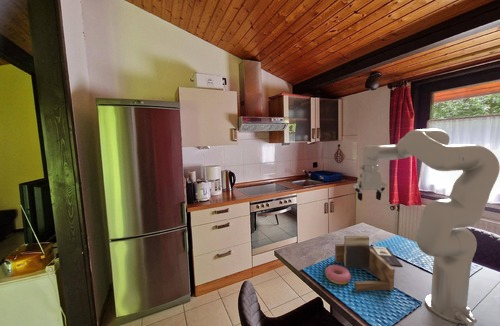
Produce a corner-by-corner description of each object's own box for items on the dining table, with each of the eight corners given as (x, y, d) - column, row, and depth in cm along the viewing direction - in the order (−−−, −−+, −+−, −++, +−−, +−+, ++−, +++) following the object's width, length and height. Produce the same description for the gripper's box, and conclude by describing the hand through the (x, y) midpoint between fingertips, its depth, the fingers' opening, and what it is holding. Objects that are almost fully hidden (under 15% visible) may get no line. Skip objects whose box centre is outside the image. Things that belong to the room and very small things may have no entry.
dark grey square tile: (369, 267, 104) (370, 246, 103) (346, 268, 104) (347, 246, 103) (368, 266, 105) (368, 245, 103) (345, 267, 105) (346, 245, 103)
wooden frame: (393, 289, 89) (395, 255, 87) (356, 290, 89) (357, 256, 87) (365, 259, 110) (366, 232, 109) (335, 260, 110) (335, 233, 109)
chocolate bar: (382, 263, 106) (370, 246, 123) (381, 265, 106) (370, 247, 123) (402, 265, 104) (387, 247, 121) (402, 267, 104) (387, 248, 121)
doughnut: (350, 289, 90) (350, 280, 89) (323, 282, 95) (323, 273, 94) (351, 274, 99) (351, 266, 99) (326, 268, 104) (326, 260, 104)
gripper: (357, 169, 110) (356, 202, 112) (391, 169, 110) (389, 201, 112) (350, 167, 118) (349, 198, 120) (382, 167, 117) (381, 197, 119)
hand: (369, 199), depth 116 cm, fingers open, 9 cm apart
